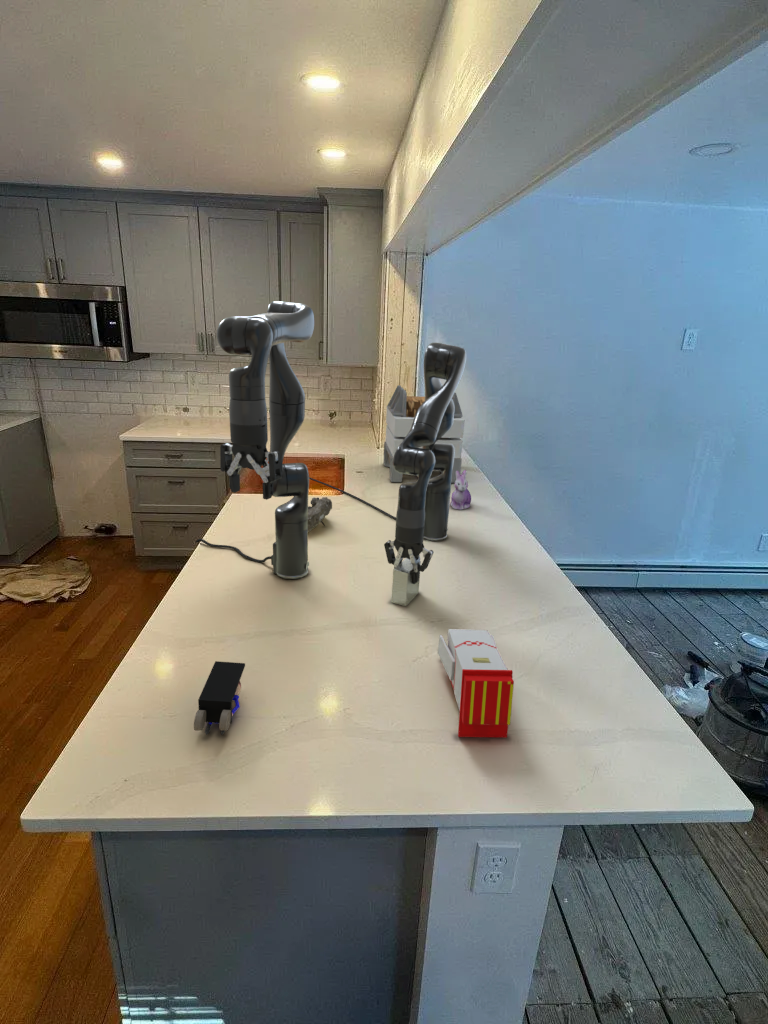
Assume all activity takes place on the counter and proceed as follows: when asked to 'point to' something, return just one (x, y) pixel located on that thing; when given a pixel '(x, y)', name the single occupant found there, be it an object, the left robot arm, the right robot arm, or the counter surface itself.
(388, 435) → the grey slatted box
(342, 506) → the counter surface
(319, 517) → the fossil
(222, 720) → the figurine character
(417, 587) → the block
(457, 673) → the toy
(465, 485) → the figurine
